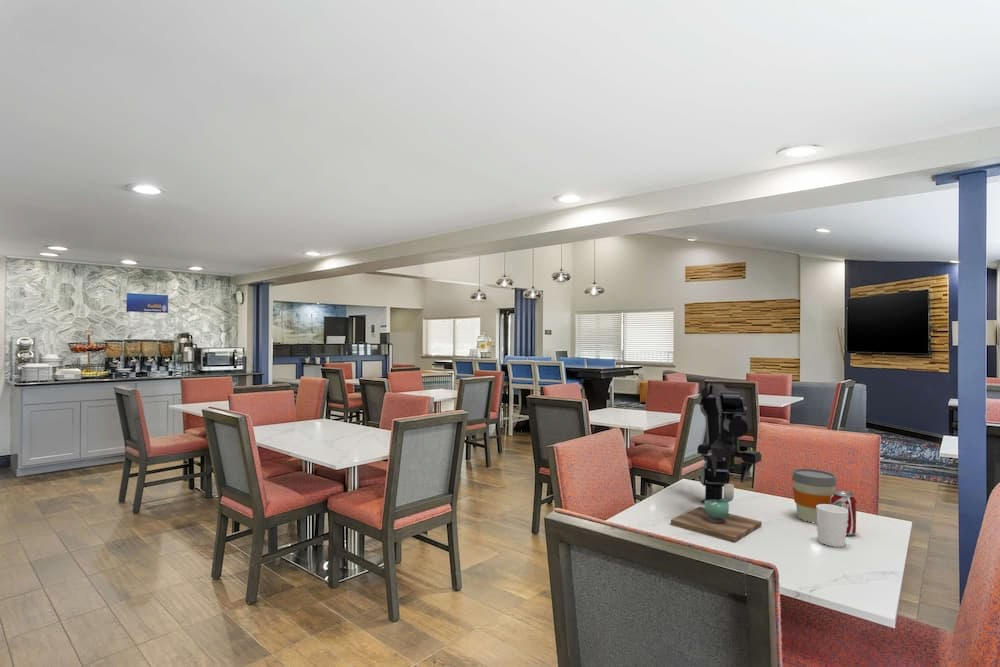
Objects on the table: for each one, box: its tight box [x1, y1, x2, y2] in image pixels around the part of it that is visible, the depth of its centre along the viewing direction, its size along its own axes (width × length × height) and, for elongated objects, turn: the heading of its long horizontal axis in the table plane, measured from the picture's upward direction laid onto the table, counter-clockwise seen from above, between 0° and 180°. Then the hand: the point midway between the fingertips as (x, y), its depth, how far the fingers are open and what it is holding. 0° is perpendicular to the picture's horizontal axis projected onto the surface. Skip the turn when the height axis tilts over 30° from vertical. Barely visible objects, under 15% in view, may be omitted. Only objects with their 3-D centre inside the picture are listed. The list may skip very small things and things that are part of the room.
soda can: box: [830, 490, 857, 536], centre depth 168 cm, size 7×7×12 cm
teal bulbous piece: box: [703, 483, 735, 518], centre depth 175 cm, size 14×7×8 cm, turn 135°
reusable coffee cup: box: [792, 468, 837, 524], centre depth 180 cm, size 13×13×15 cm
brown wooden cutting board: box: [670, 505, 763, 543], centre depth 172 cm, size 20×20×3 cm
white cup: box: [816, 504, 848, 548], centre depth 159 cm, size 8×8×10 cm
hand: (727, 479), depth 179 cm, fingers open, 9 cm apart
